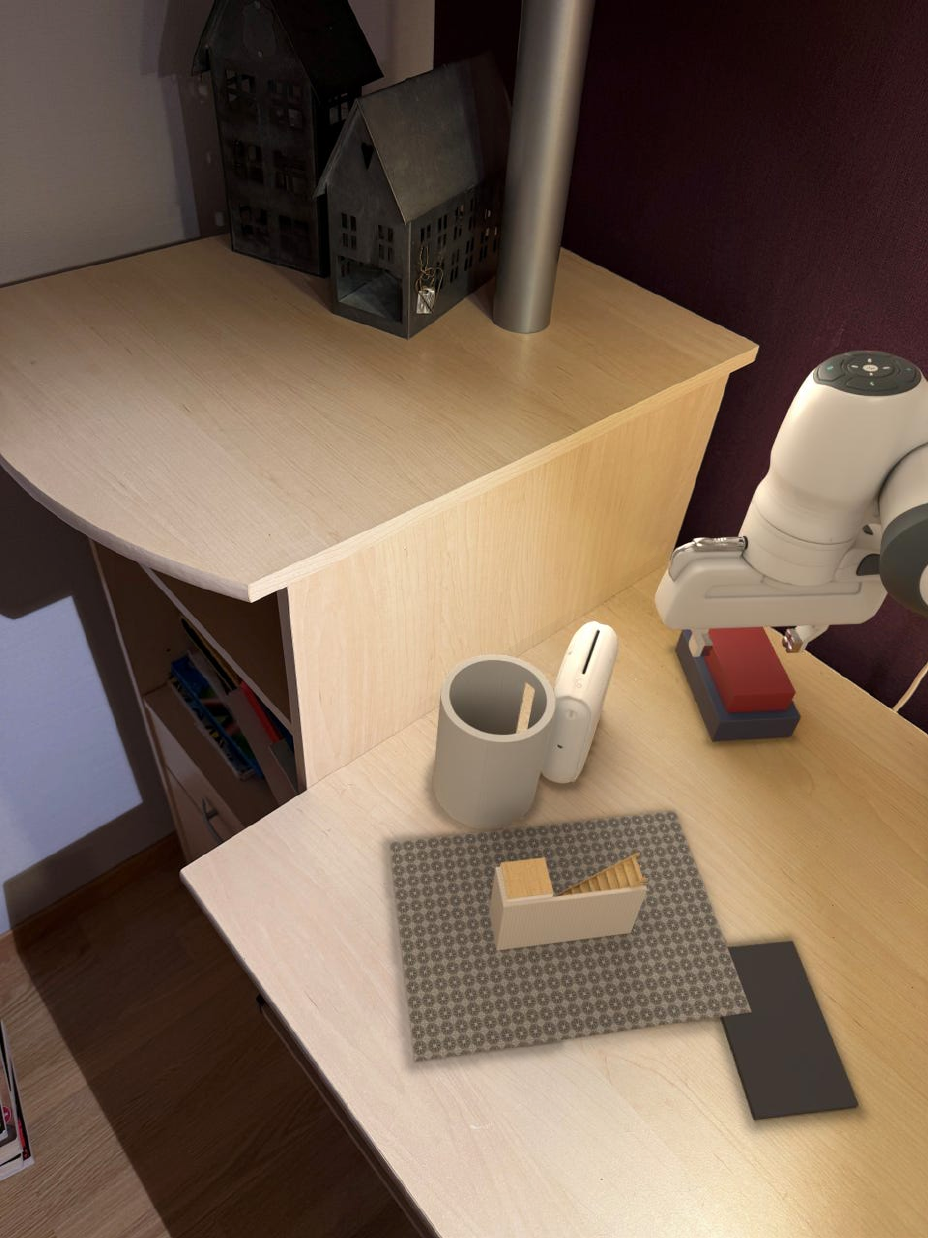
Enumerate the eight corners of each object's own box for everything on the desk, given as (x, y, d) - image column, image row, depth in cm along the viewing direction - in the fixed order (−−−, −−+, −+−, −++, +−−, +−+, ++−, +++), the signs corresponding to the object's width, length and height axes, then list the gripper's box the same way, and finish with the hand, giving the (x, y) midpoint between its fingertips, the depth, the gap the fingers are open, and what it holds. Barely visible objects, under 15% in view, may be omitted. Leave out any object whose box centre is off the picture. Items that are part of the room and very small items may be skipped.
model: (489, 911, 71) (496, 860, 66) (619, 895, 73) (636, 844, 68) (496, 950, 69) (504, 901, 64) (630, 933, 71) (649, 883, 65)
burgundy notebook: (694, 636, 91) (700, 618, 90) (750, 633, 92) (757, 616, 91) (727, 712, 84) (734, 695, 83) (787, 709, 85) (796, 692, 84)
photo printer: (576, 792, 80) (602, 701, 72) (530, 776, 81) (550, 685, 73) (603, 709, 87) (629, 618, 79) (560, 696, 88) (581, 604, 80)
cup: (419, 811, 78) (425, 722, 69) (450, 732, 84) (460, 642, 76) (521, 842, 76) (540, 755, 68) (545, 759, 83) (566, 671, 74)
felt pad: (790, 944, 72) (793, 940, 71) (856, 1108, 63) (859, 1105, 63) (699, 952, 70) (701, 949, 70) (753, 1121, 62) (756, 1118, 62)
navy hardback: (674, 649, 94) (681, 629, 92) (747, 646, 95) (755, 626, 93) (711, 742, 86) (720, 721, 84) (791, 737, 87) (801, 717, 85)
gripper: (689, 564, 73) (649, 679, 82) (921, 559, 76) (857, 670, 85) (667, 515, 77) (631, 629, 87) (887, 512, 80) (829, 623, 90)
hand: (745, 650), depth 86 cm, fingers open, 8 cm apart
